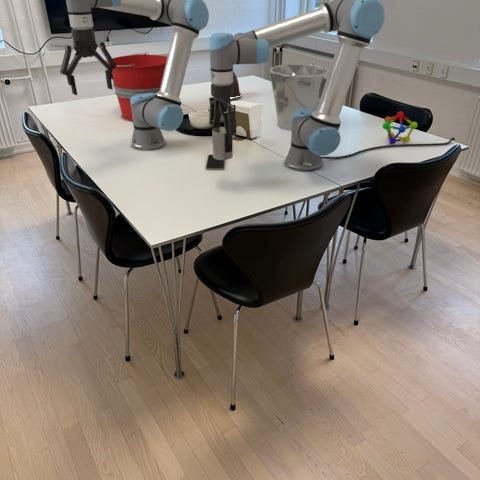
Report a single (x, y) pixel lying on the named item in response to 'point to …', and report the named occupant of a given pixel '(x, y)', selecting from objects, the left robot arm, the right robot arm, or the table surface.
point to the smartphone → (214, 163)
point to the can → (220, 144)
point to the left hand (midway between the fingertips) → (92, 91)
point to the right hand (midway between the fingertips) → (222, 148)
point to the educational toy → (398, 128)
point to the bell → (235, 86)
